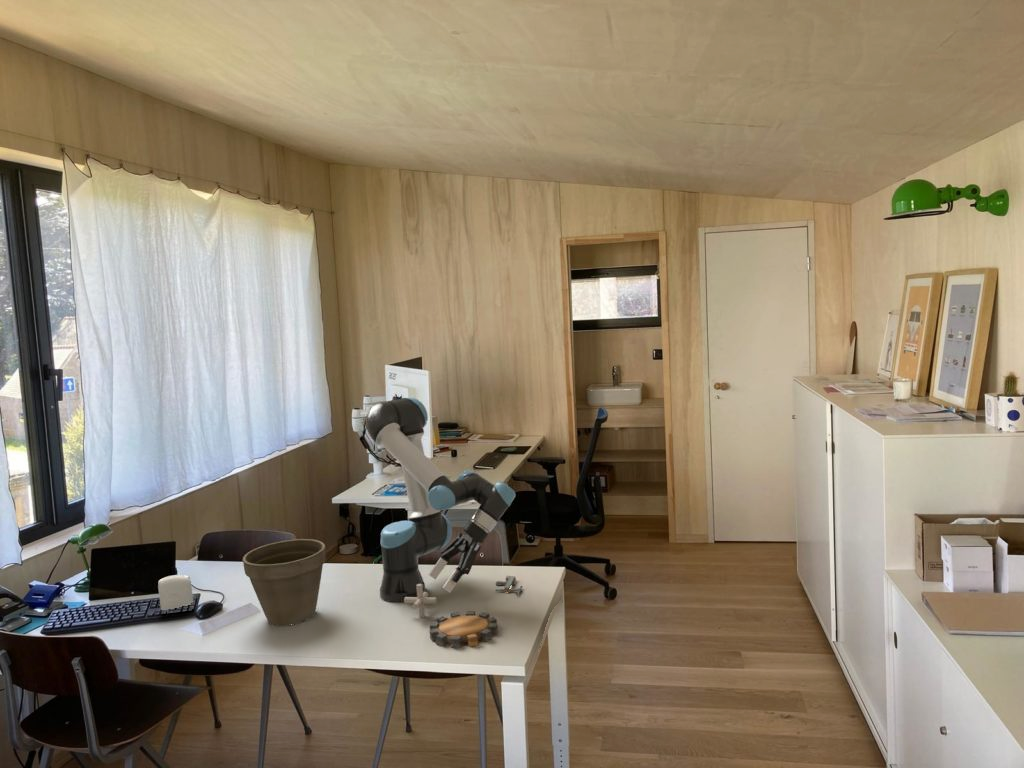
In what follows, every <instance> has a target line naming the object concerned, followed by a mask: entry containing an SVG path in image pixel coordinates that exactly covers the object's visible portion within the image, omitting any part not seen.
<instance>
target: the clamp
mask: <svg viewBox="0 0 1024 768" xmlns="http://www.w3.org/2000/svg"><path fill="white" fill-rule="evenodd" d="M515 581H516V582H517V578H516V576H515V575H506V577H505V581H502V580H496V581H495V585H496V586H502V585H504V587H503V588H498V589H497V588H495V592H504V593H505V592H509V591H510V592H517V593H516V594H515V597H519V596H520V593H522V592H523V588H524V586H523V585H520V586H519V587H518V588H511V589H509V588H510V586H511V585H513V586H514V584H515V583H516V582H515ZM521 591H522V592H521ZM510 592H509V593H510Z"/></svg>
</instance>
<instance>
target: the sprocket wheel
mask: <svg viewBox="0 0 1024 768" xmlns="http://www.w3.org/2000/svg"><path fill="white" fill-rule="evenodd" d="M498 633H499V629H498V621H497V618H496V617H495V616H490V613H487V612H481V613H479V614H478V615H476V611H475V610H474V611H473V610H472V611H470V610H469V611H468V610H467V611H466V613H465V615H461V614H460V612H452V613H450V617H449V618H448V617H446V616H440V617H437V618H436V622H431V623H430V625H429V638H430V640H431V642H434V641H436V645H437V646H440V647H444V646H446V645H451V647H450V648H452V649H453V648H455V649H459V648H461V647H462V645H463V646H465V645H468V647H470V648H471V647H475V646H478V645H479V642H484V643H487V642H489V641H491V640H492V639H493V636H497V634H498ZM478 641H479V642H478Z"/></svg>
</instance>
